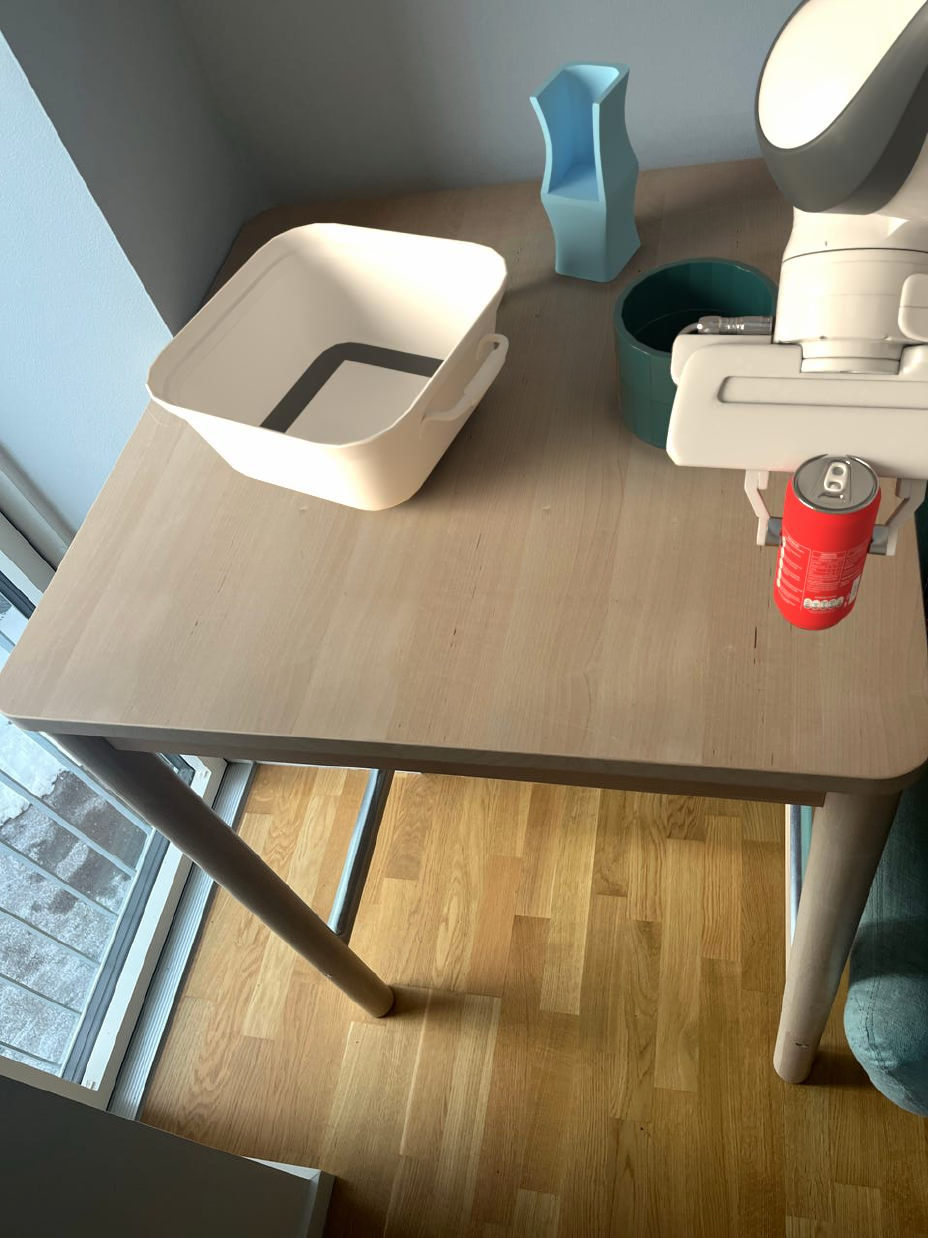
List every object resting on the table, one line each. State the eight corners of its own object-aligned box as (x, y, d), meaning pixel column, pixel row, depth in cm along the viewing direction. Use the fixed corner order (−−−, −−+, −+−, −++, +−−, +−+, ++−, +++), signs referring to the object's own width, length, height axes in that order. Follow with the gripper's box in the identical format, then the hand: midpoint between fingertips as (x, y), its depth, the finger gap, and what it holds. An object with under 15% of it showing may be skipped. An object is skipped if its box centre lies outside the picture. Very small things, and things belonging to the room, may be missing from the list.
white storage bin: (571, 378, 95) (557, 253, 84) (442, 581, 83) (404, 468, 71) (312, 326, 109) (269, 213, 98) (168, 494, 97) (98, 387, 85)
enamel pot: (773, 350, 92) (783, 253, 83) (767, 454, 84) (778, 359, 76) (628, 351, 96) (623, 259, 87) (610, 450, 88) (603, 360, 80)
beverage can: (764, 626, 62) (779, 508, 52) (780, 567, 64) (796, 444, 54) (846, 642, 60) (876, 523, 50) (858, 581, 62) (890, 456, 53)
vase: (550, 272, 107) (528, 97, 91) (581, 233, 110) (565, 58, 94) (611, 284, 103) (599, 104, 87) (641, 244, 107) (635, 63, 91)
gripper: (669, 308, 54) (648, 540, 56) (1066, 309, 47) (1020, 571, 50) (680, 322, 60) (660, 532, 62) (1034, 325, 53) (995, 559, 56)
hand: (824, 550), depth 56 cm, fingers closed on beverage can, 5 cm apart
